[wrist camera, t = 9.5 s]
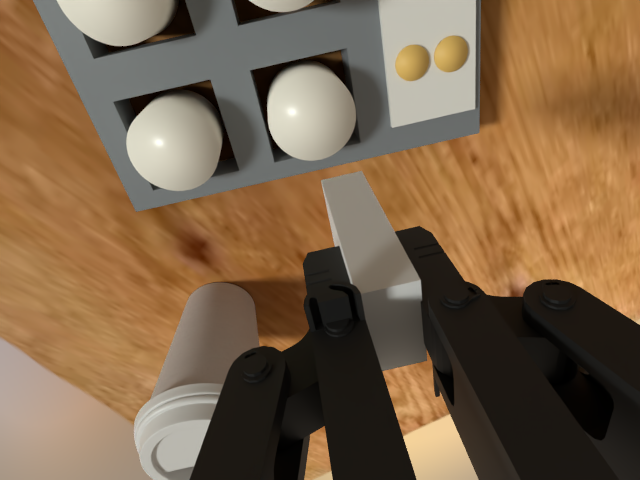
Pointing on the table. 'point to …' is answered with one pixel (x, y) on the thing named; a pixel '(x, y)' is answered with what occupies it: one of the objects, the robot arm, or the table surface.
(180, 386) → the coffee cup
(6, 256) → the table surface
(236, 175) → the board
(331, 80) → the button
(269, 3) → the button
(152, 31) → the button
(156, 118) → the button
